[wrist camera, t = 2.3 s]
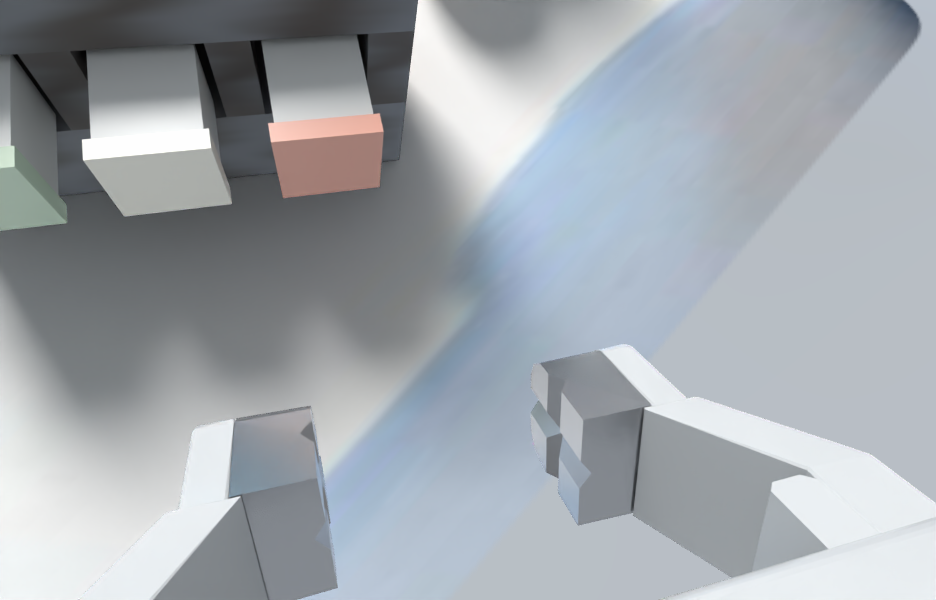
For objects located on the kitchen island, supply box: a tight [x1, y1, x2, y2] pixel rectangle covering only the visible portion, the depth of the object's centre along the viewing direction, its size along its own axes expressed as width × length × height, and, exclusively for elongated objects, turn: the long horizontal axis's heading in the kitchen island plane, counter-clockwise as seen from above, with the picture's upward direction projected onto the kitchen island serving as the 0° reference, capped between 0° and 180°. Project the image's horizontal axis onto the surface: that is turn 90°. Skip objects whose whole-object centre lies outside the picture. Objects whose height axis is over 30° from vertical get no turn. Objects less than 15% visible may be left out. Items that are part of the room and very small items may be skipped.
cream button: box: [82, 44, 232, 217], centre depth 24 cm, size 4×5×4 cm
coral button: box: [261, 34, 384, 198], centre depth 25 cm, size 4×5×4 cm
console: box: [0, 0, 418, 196], centre depth 26 cm, size 20×8×12 cm, turn 103°
